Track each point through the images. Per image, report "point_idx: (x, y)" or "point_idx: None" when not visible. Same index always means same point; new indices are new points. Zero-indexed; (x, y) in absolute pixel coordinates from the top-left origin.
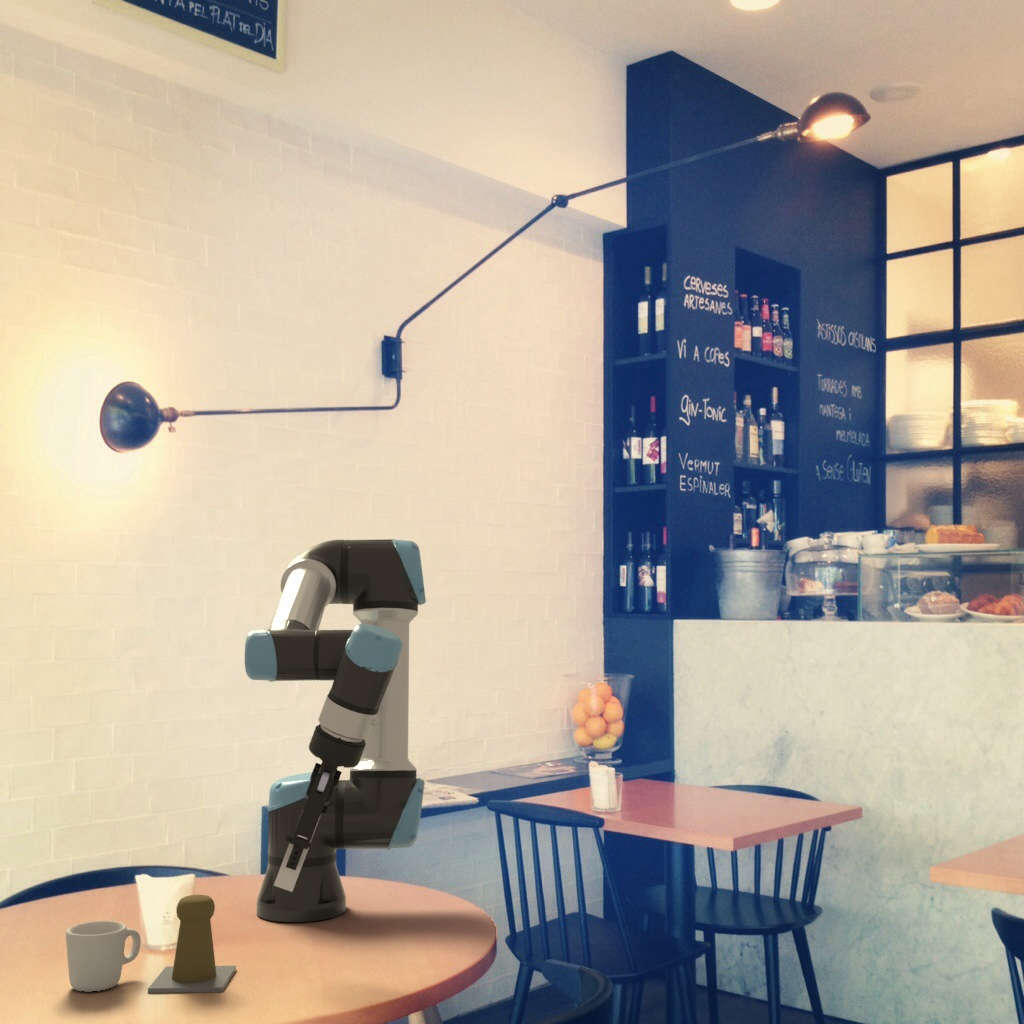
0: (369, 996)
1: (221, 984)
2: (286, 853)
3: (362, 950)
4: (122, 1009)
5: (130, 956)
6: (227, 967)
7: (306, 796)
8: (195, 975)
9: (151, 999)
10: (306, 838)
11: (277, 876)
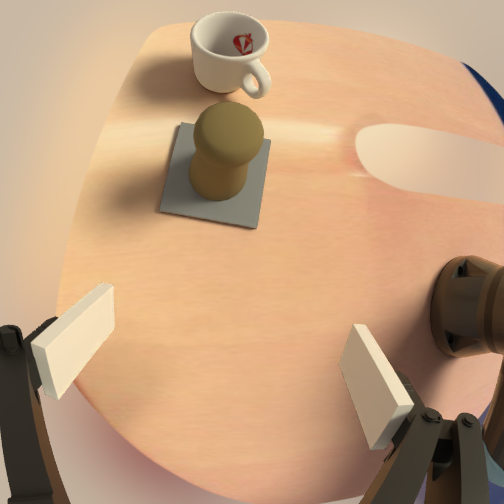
0: (111, 394)
1: (171, 208)
2: (52, 325)
3: (310, 394)
4: (130, 106)
5: (251, 91)
6: (249, 216)
7: (31, 496)
8: (189, 172)
9: (155, 130)
10: (354, 382)
11: (89, 293)
